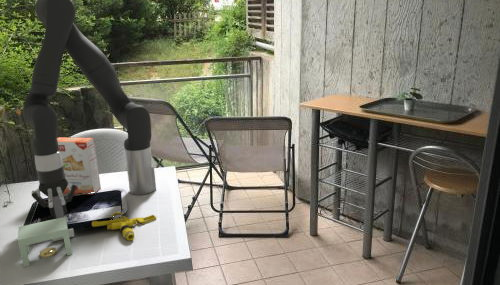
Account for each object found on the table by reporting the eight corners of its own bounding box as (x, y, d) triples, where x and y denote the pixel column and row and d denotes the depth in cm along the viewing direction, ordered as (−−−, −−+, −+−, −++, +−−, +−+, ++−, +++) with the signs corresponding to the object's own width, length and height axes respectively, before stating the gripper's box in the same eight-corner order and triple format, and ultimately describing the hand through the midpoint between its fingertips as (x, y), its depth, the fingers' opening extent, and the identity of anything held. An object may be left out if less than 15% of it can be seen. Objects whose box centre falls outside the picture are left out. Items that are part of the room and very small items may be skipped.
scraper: (70, 215, 134) (65, 190, 132) (74, 236, 121) (69, 209, 118) (50, 219, 132) (45, 194, 129) (52, 241, 118) (47, 214, 116)
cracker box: (58, 194, 151) (49, 141, 145) (67, 187, 157) (58, 136, 150) (94, 195, 149) (85, 141, 143) (101, 188, 155) (94, 136, 149)
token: (55, 248, 115) (55, 245, 115) (56, 255, 112) (55, 252, 112) (40, 252, 114) (39, 249, 113) (40, 259, 110) (39, 256, 110)
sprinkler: (102, 236, 112) (89, 214, 124) (101, 249, 113) (89, 226, 125) (167, 224, 123) (149, 205, 135) (166, 236, 124) (149, 216, 136)
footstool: (69, 240, 119) (65, 216, 116) (72, 254, 112) (67, 228, 109) (24, 252, 113) (18, 227, 111) (23, 266, 107) (17, 240, 104)
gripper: (72, 158, 132) (80, 206, 137) (24, 166, 126) (35, 216, 131) (74, 165, 125) (83, 215, 131) (24, 174, 119) (35, 226, 125)
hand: (59, 215), depth 131 cm, fingers closed on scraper
